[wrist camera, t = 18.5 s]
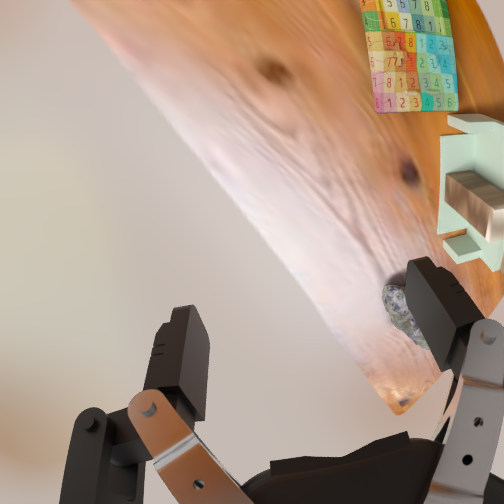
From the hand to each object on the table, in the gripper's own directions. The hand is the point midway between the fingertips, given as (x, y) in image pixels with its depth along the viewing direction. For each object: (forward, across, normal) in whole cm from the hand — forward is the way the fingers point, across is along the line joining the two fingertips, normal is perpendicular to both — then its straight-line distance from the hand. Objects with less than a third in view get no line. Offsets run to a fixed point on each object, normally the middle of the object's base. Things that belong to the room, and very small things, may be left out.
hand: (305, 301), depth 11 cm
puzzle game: (+31, -20, -10) cm, 38 cm away
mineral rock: (+30, -20, +32) cm, 49 cm away
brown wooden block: (+30, -28, +12) cm, 43 cm away
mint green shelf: (+30, -29, +12) cm, 44 cm away
